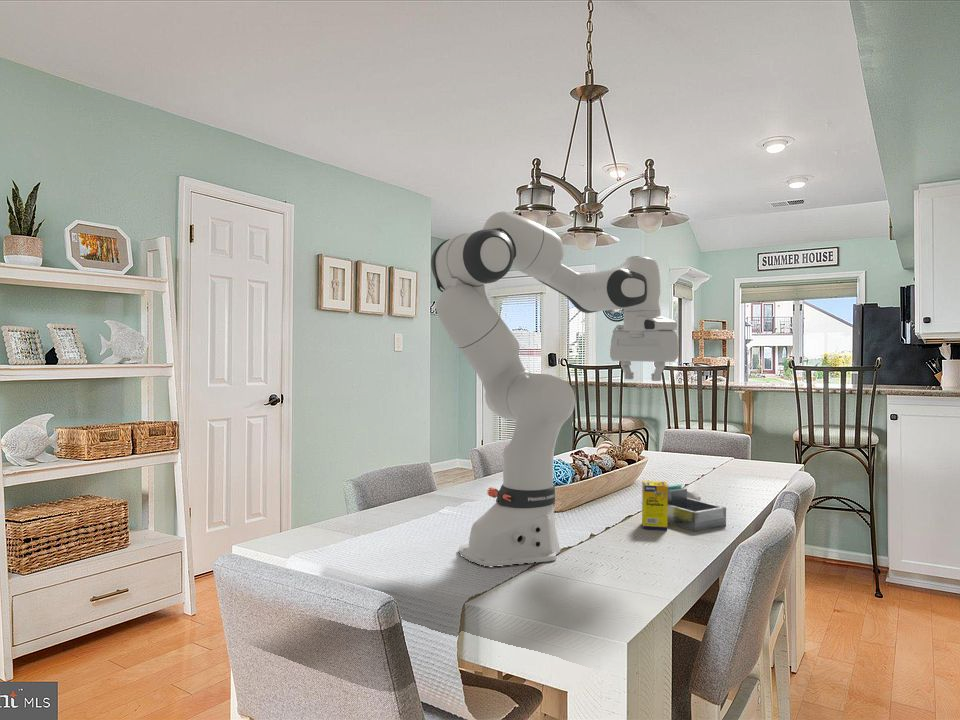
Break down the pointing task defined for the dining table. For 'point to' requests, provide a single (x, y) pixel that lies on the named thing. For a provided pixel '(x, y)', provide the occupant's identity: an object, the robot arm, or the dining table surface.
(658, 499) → the supplement box
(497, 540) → the robot arm
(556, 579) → the dining table surface
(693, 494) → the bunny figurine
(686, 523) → the tray
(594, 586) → the dining table surface
